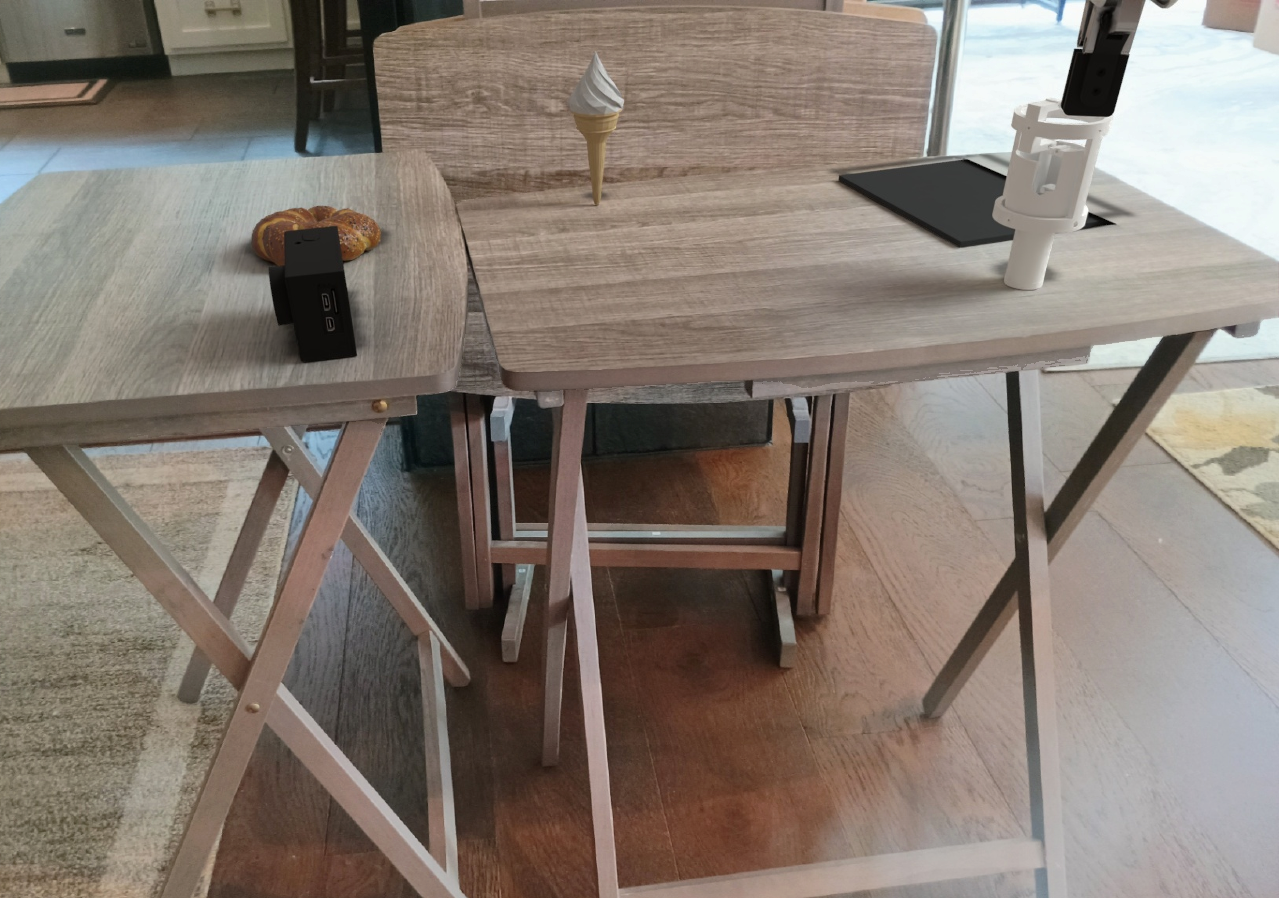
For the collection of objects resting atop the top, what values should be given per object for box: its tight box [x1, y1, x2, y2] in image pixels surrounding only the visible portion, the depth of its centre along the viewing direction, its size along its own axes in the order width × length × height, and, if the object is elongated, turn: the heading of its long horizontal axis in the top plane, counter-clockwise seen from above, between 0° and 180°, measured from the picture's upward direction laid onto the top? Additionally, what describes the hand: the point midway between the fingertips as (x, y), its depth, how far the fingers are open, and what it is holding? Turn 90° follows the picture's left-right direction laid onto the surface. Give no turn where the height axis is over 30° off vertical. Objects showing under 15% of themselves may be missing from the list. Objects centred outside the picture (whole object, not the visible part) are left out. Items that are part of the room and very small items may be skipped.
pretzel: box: [250, 205, 382, 266], centre depth 97 cm, size 12×11×4 cm
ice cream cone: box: [567, 50, 625, 206], centre depth 103 cm, size 6×6×15 cm
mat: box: [837, 158, 1117, 248], centre depth 105 cm, size 22×18×1 cm
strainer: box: [992, 97, 1114, 291], centre depth 83 cm, size 7×7×15 cm
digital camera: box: [268, 226, 358, 363], centre depth 81 cm, size 10×5×7 cm, turn 13°
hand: (1085, 112), depth 71 cm, fingers closed
